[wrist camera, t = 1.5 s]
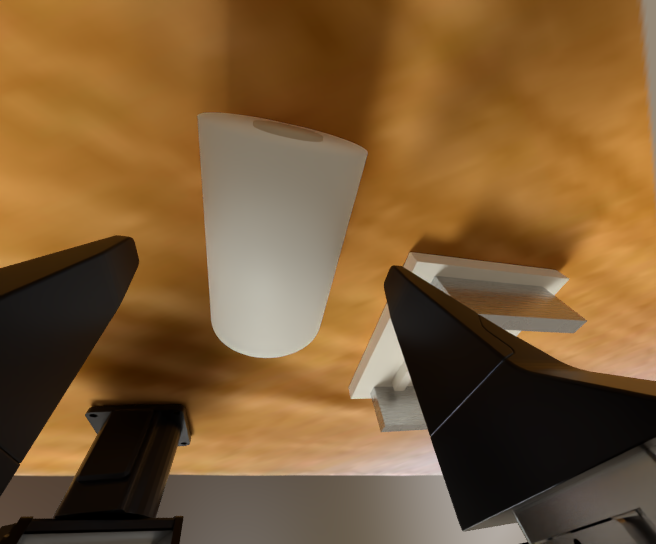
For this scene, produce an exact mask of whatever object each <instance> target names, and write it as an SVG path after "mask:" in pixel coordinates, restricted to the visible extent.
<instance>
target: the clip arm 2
mask: <svg viewBox="0 0 656 544" xmlns="http://www.w3.org/2000/svg"><path fill="white" fill-rule="evenodd" d="M431 285H433V286H435V287H436V288H438V289H439V290H441V291H443V292H444V293H446V294H447V295H449V296H451V297H452V298H454V299H455V300H457V301H459V302H460V303H462V304H464V305H465V306H467V307H468V308H470V309H472V310H473V311H475V312H476V313H478V315H481V316H483V317H484V318H486V319H488V320H489V321H491V322H493V323H494V324H496V325H498V326H499V327H501V328H502V329H504V330H519V331H539V332H559V333H575V332H576V331H577V330H578V329H579V328H580V327H581V326H582V325H583V324H584V323H586V322H587V320H585V319H584V318H583V317H582V316H580V315H579V314H578V313H576V312H575V311H574V310H572V309H571V308H570V307H569V306H567V305H566V304H565V303H563V302H562V301H561V300H559V299H558V298H557V297H556V296H554V295H553V294H552V293H550V292H549V291H548V290H546V289H545V288H544V287H541V286H531V285H521V284H511V283H501V282H491V281H481V280H472V279H462V278H452V277H442V276H434V278H433V280H432V282H431Z"/></svg>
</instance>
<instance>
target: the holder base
mask: <svg viewBox="0 0 656 544" xmlns="http://www.w3.org/2000/svg"><path fill="white" fill-rule="evenodd" d="M403 267H404V268H406V269H407V270H409V271H411V272H412V273H414V274H415V275H417V276H419V277H420V278H422V279H423V280H425V281H427V282H428V283H430V284H431V282H432V280H433V278H434V276H442V277H452V278H462V279H472V280H481V281H491V282H501V283H511V284H521V285H531V286H541V287H544V288H545V289H546V290H548V291H549V292H550V293H552V294H553V295H555V294H556V293H557V292H558V291H559V290H560V289H561V287H562V286H563V285H564V284H565V283H566V282H567V281H568V280H569V278H567V277H566V276H564V275H563V274H561V273H560V272H558V271H557V270H553V269H544V268H536V267H528V266H520V265H512V264H504V263H496V262H487V261H479V260H471V259H463V258H455V257H447V256H439V255H431V254H422V253H414V252H410V253H409V255H408V257H407V260H406V262H405V264H404V266H403ZM506 331H508V332H509V333H511V334H513V335H515V336H517V335H518V334H519V333H520V332H521V331H519V330H506ZM407 386H413V384H412V381H411V378H410V375H409V372H408V369H407V366H406V363H405V360H404V357H403V354H402V351H401V348H400V345H399V342H398V339H397V336H396V333H395V330H394V327H393V324H392V321H391V318H390V313H389V309H388V304H386V306H385V308H384V310H383V313H382V315H381V317H380V319H379V321H378V324H377V326H376V328H375V330H374V333H373V335H372V337H371V339H370V341H369V344H368V346H367V348H366V350H365V352H364V355H363V357H362V359H361V361H360V363H359V366H358V368H357V370H356V372H355V374H354V377H353V379H352V381H351V383H350V386H349V392H350V397H351V399H364V398H371V394H370V393H371V391H372V389H373V387H393V388H394V391H404V390H405V388H406V387H407Z"/></svg>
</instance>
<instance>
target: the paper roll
mask: <svg viewBox="0 0 656 544" xmlns="http://www.w3.org/2000/svg"><path fill="white" fill-rule="evenodd" d="M197 117H198V132H199V147H200V162H201V177H202V191H203V206H204V221H205V236H206V251H207V266H208V280H209V295H210V310H211V322H212V327H213V330H214V332H215V334H216V335H217V337H218V338H219V339H220V340H221V341H222V342H223V343H224V344H225V345H226V346H228V347H229V348H231V349H232V350H234V351H237V352H239V353H241V354H244V355H247V356H252V357H259V358H275V357H282V356H286V355H290V354H292V353H295V352H297V351H299V350H301V349H303V348H304V347H306V346H307V345H308V344H309V343H310V342H311V341H312V340H313V339H314V338H315V337H316V335H317V333H318V331H319V328H320V325H321V321H322V318H323V314H324V311H325V307H326V303H327V300H328V296H329V292H330V289H331V285H332V282H333V278H334V274H335V271H336V267H337V263H338V260H339V256H340V253H341V249H342V245H343V242H344V238H345V234H346V231H347V227H348V223H349V220H350V216H351V213H352V209H353V205H354V202H355V198H356V194H357V191H358V187H359V184H360V180H361V176H362V173H363V169H364V165H365V162H366V158H367V155H368V152H367V150H366V149H364V148H363V147H361V146H359V145H357V144H355V143H353V142H350V141H348V140H345V139H342V138H339V137H336V136H333V135H330V134H327V133H323V132H320V131H316V130H313V129H309V128H305V127H301V126H296V125H292V124H288V123H283V122H279V121H274V120H269V119H264V118H258V117H252V116H246V115H239V114H231V113H218V112H207V113H200V114H198V116H197Z"/></svg>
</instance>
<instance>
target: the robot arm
mask: <svg viewBox="0 0 656 544" xmlns="http://www.w3.org/2000/svg"><path fill="white" fill-rule="evenodd" d="M138 265H139V258H138V254H137V250H136V246H135V242H134V240H133V238H131V237H127V236H112V237H109V238H105V239H102V240H98V241H95V242H91V243H88V244H84V245H81V246H77V247H74V248H70V249H67V250H63V251H60V252H56V253H53V254H49V255H45V256H42V257H38V258H35V259H31V260H28V261H24V262H21V263H17V264H14V265H10V266H7V267H3V268H0V496H1V495H2V493H3V492H4V490H5V488H6V487H7V485H8V483H9V482H10V480H11V479H12V477H13V476H14V474H15V472H16V471H17V469H18V468H19V466H20V464H19V463H21V462H22V461H23V459H24V458H25V456H26V454H27V453H28V451H29V450H30V448H31V446H32V445H33V443H34V442H35V440H36V438H37V437H38V435H39V434H40V432H41V430H42V429H43V427H44V426H45V424H46V423H47V421H48V419H49V418H50V416H51V415H52V413H53V411H54V410H55V408H56V407H57V405H58V403H59V402H60V400H61V399H62V397H63V395H64V394H65V392H66V391H67V389H68V387H69V386H70V384H71V383H72V381H73V379H74V378H75V376H76V375H77V373H78V372H79V370H80V368H81V367H82V365H83V364H84V362H85V360H86V359H87V357H88V356H89V354H90V352H91V351H92V349H93V348H94V346H95V344H96V343H97V341H98V340H99V338H100V336H101V335H102V333H103V332H104V330H105V329H106V327H107V325H108V324H109V322H110V321H111V319H112V317H113V316H114V314H115V313H116V311H117V309H118V308H119V306H120V304H121V302H122V300H123V298H124V296H125V294H126V292H127V290H128V287H129V285H130V283H131V281H132V279H133V276H134V274H135V272H136V270H137V268H138ZM384 290H385V295H386V299H387V304H388V309H389V313H390V318H391V321H392V324H393V327H394V330H395V333H396V336H397V339H398V342H399V345H400V348H401V351H402V354H403V357H404V360H405V363H406V366H407V369H408V372H409V375H410V378H411V381H412V384H413V387H414V390H415V393H416V396H417V399H418V402H419V405H420V408H421V411H422V414H423V417H424V420H425V423H426V426H427V429H428V432H429V435H430V436H431V441H432V444H433V447H434V450H435V453H436V456H437V459H438V462H439V465H440V468H441V471H442V474H443V477H444V480H445V483H446V486H447V489H448V491H449V494H450V497H451V500H452V503H453V506H454V509H455V512H456V515H457V518H458V521H459V524H460V526H461V528H462V531H470V530H476V529H481V528H488V527H493V526H499V525H505V524H511V523H518V525H519V527H520V528H521V530H522V532H523V534H524V536H525V538H526V540H527V542H526V543H522V544H656V381H650V380H644V379H637V378H630V377H623V376H616V375H610V374H603V373H596V372H590V371H585V370H581V369H578V368H575V367H572V366H570V365H567V364H565V363H563V362H561V361H559V360H557V359H555V358H553V357H552V356H550V355H548V354H546V353H545V352H543V351H541V350H539V349H538V348H536V347H534V346H532V345H530V344H529V343H527V342H525V341H523V340H522V339H520V338H518V337H516V336H515V335H513V334H511V333H509V332H508V331H506V330H504V329H502V328H501V327H499V326H498V325H496V324H494V323H493V322H491V321H489V320H488V319H486V318H484V317H483V316H481V315H478V313H476V312H475V311H473V310H472V309H470V308H468V307H467V306H465V305H464V304H462V303H460V302H459V301H457V300H455V299H454V298H452V297H451V296H449V295H447V294H446V293H444V292H443V291H441V290H439V289H438V288H436V287H435V286H433V285H431V284H430V283H428V282H427V281H425V280H423V279H422V278H420V277H419V276H417V275H415V274H414V273H412V272H411V271H409V270H407V269H406V268H404V267H402V266H395V265H393V266H391V268H390V270H389V272H388V274H387V277H386V279H385V282H384ZM85 416H86V418H87V419H88V421H89V422H90V424H91V425H92V427H93V428H94V430H95V432H96V433H97V436H96V438H95V440H94V442H93V444H92V446H91V447H90V449H89V451H88V453H87V455H86V457H85V458H84V460H83V462H82V464H81V466H80V468H79V469H78V471H77V473H76V475H75V477H74V479H73V481H72V482H71V484H70V486H69V488H68V490H67V492H66V493H65V495H64V497H63V499H62V501H61V503H60V505H59V506H58V508H57V510H56V512H55V514H54V516H53V517H52V519H33V517H21V518H20V519H19V521H18V522H17V523H14V524H12V525H7V526H2V527H1V528H0V544H179V542H180V536H181V530H182V523H183V516H175V517H173V518H156V515H157V512H158V509H159V506H160V502H161V499H162V496H163V492H164V489H165V486H166V482H167V479H168V476H169V472H170V469H171V466H172V463H173V459H174V456H175V453H176V449H177V446H187V445H189V444H190V441H191V435H190V430H189V425H188V420H187V415H186V410H185V407H184V406H182V405H143V406H104V407H91V408H89V409H88V411H87V413H86V414H85Z"/></svg>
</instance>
